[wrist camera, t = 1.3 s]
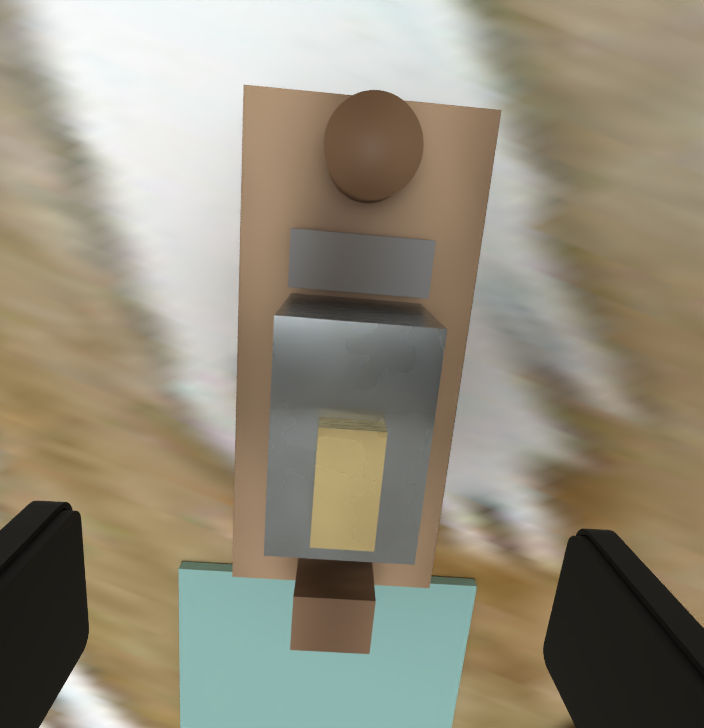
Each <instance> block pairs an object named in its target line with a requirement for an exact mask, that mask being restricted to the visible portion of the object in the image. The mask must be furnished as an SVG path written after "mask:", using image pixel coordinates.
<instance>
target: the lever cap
mask: <svg viewBox="0 0 704 728" xmlns="http://www.w3.org/2000/svg"><path fill="white" fill-rule="evenodd" d="M446 335H447V328H445V327H444V326H443V325H442V324H441V323H440V322H439V321H438V320H437V319H436V318H435V317H434V316H433V315H432V314H431V313H430V312H429V311H428V310H427V309H426V308H425V307H424V306H423V305H422V304H421V303H408V302H396V301H384V300H372V299H360V298H347V297H335V296H323V295H311V294H299V293H291V294H290V295H289V297H288V298H287V299H286V301H285V302H284V303H283V304H282V306H281V307H280V308H279V310H278V311H277V312H276V313H275V315H274V327H273V350H272V374H271V397H270V421H269V444H268V467H267V491H266V514H265V538H264V556H275V557H292V558H308V559H325V560H342V561H358V562H375V563H391V564H408V565H415V559H416V552H417V544H418V537H419V530H420V523H421V515H422V508H423V501H424V494H425V487H426V479H427V472H428V465H429V458H430V450H431V443H432V436H433V429H434V422H435V414H436V407H437V400H438V393H439V386H440V378H441V371H442V364H443V357H444V349H445V342H446Z"/></svg>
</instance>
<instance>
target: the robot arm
mask: <svg viewBox="0 0 704 728" xmlns="http://www.w3.org/2000/svg"><path fill="white" fill-rule="evenodd" d="M88 634H89V622H88V608H87V594H86V580H85V566H84V552H83V539H82V525H81V516H80V513H79V512H78V511H72V507H71V505H70V504H69V503H67V502H53V501H33V502H31V503H30V504H28V505H27V506H26V507H25V508H24V509H23V510H22V511H21V512H20V513H19V514H18V515H16V516H15V517H14V518H13V519H12V520H11V521H10V522H9V523H8V524H7V525H6V526H5V527H3V528H2V529H1V530H0V728H39V727H40V725H41V723H42V721H43V720H44V718H45V716H46V715H47V713H48V711H49V709H50V708H51V706H52V704H53V703H54V701H55V699H56V697H57V696H58V694H59V692H60V691H61V689H62V687H63V685H64V684H65V682H66V680H67V679H68V677H69V675H70V673H71V672H72V670H73V668H74V667H75V665H76V663H77V661H78V660H79V658H80V656H81V654H82V653H83V651H84V649H85V646H86V643H87V639H88ZM543 654H544V660H545V664H546V666H547V669H548V671H549V673H550V675H551V677H552V679H553V681H554V683H555V685H556V687H557V689H558V691H559V694H560V696H561V698H562V700H563V702H564V704H565V706H566V708H567V710H568V712H569V714H570V716H571V718H572V720H573V722H574V724H575V726H576V728H704V628H703V627H702V626H701V625H700V624H699V623H698V622H697V621H696V620H695V618H694V617H693V616H692V615H691V614H690V613H689V612H688V611H687V610H686V609H685V608H684V607H683V605H682V604H681V603H680V602H679V601H678V600H677V599H676V598H675V597H674V596H673V595H672V594H671V592H670V591H669V590H668V589H667V588H666V587H665V586H664V585H663V584H662V583H661V582H660V581H659V579H658V578H657V577H656V576H655V575H654V574H653V573H652V572H651V571H650V570H649V569H648V568H647V566H646V565H645V564H644V563H643V562H642V561H641V560H640V559H639V558H638V557H637V556H636V555H635V553H634V552H633V551H632V550H631V549H630V548H629V547H628V546H627V545H626V544H625V543H624V542H623V540H622V539H621V538H620V537H619V536H618V535H617V534H616V533H615V532H613V531H611V530H598V529H581V530H579V531H578V532H577V534H576V536H572V537H570V538H569V540H568V543H567V547H566V552H565V556H564V560H563V564H562V569H561V573H560V577H559V582H558V586H557V590H556V594H555V599H554V603H553V607H552V612H551V616H550V620H549V624H548V629H547V633H546V637H545V641H544V647H543Z"/></svg>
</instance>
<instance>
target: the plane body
mask: <svg viewBox="0 0 704 728" xmlns="http://www.w3.org/2000/svg"><path fill="white" fill-rule="evenodd" d="M500 116H501V110H495V109H484V108H474V107H464V106H454V105H444V104H434V103H424V102H414V101H403V100H402V99H401V98H399V97H398V96H396V95H394V94H391V93H388V92H385V91H380V90H369V91H363V92H360V93H357V94H355V95H343V94H333V93H322V92H312V91H302V90H292V89H282V88H272V87H262V86H251V85H244V96H243V139H242V182H241V225H240V268H239V311H238V354H237V397H236V440H235V483H234V526H233V569H232V577H245V578H262V579H279V580H295V588H294V595H293V609H292V625H291V641H290V650H298V651H317V652H336V653H356V654H370V646H371V638H372V629H373V621H374V612H375V604H376V598H375V587H374V585H382V586H399V587H416V588H430V582H431V575H432V569H433V562H434V555H435V549H436V542H437V535H438V529H439V522H440V515H441V509H442V502H443V495H444V489H445V482H446V475H447V469H448V462H449V456H450V449H451V442H452V436H453V429H454V422H455V416H456V409H457V402H458V396H459V389H460V382H461V376H462V369H463V362H464V356H465V349H466V342H467V336H468V329H469V322H470V316H471V309H472V302H473V296H474V289H475V282H476V276H477V269H478V262H479V256H480V249H481V242H482V236H483V229H484V223H485V216H486V209H487V203H488V196H489V189H490V183H491V176H492V169H493V163H494V156H495V149H496V143H497V136H498V129H499V123H500ZM291 293H299V294H311V295H323V296H335V297H347V298H360V299H372V300H384V301H396V302H408V303H421V304H422V305H423V306H424V307H425V308H426V309H427V310H428V311H429V312H430V313H431V314H432V315H433V316H434V317H435V318H436V319H437V320H438V321H439V322H440V323H441V324H442V325H443V326H444V327H445V328H447V335H446V342H445V349H444V357H443V364H442V371H441V378H440V386H439V393H438V400H437V407H436V414H435V422H434V429H433V436H432V443H431V450H430V458H429V465H428V472H427V479H426V487H425V494H424V501H423V508H422V515H421V523H420V530H419V537H418V544H417V552H416V559H415V565H408V564H391V563H375V562H358V561H342V560H325V559H308V558H292V557H275V556H264V538H265V514H266V491H267V467H268V444H269V421H270V397H271V374H272V350H273V327H274V315H275V313H276V312H277V311H278V310H279V308H280V307H281V306H282V304H283V303H284V302H285V301H286V299H287V298H288V297H289V295H290V294H291Z"/></svg>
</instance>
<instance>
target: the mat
mask: <svg viewBox="0 0 704 728" xmlns="http://www.w3.org/2000/svg"><path fill="white" fill-rule="evenodd" d="M232 569H233V564H217V563H200V562H183V561H182V563H181V565H180V567H179V645H180V728H451V727H452V722H453V716H454V711H455V705H456V700H457V694H458V689H459V683H460V677H461V672H462V666H463V661H464V655H465V650H466V644H467V639H468V633H469V628H470V622H471V617H472V611H473V605H474V600H475V594H476V589H477V585H476V583H475V580H474V579H470V578H453V577H436V576H431V582H430V588H416V587H399V586H382V585H374V587H375V598H376V604H375V612H374V621H373V629H372V638H371V646H370V654H356V653H336V652H317V651H298V650H290V641H291V625H292V609H293V595H294V588H295V580H279V579H262V578H245V577H232Z"/></svg>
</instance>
